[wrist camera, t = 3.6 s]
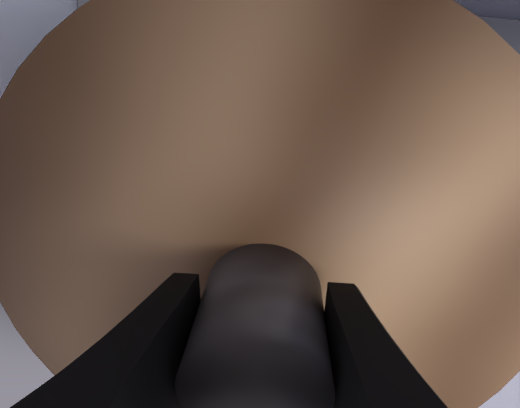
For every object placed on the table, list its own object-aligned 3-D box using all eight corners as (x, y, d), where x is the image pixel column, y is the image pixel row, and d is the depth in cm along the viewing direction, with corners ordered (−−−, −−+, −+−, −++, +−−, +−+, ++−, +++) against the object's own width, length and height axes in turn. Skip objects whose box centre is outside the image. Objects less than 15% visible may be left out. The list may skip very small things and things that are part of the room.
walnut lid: (706, 33, 7) (1101, 31, 4) (428, 472, 14) (477, 621, 10) (-53, -110, 7) (-385, -251, 4) (29, 402, 13) (-59, 529, 10)
